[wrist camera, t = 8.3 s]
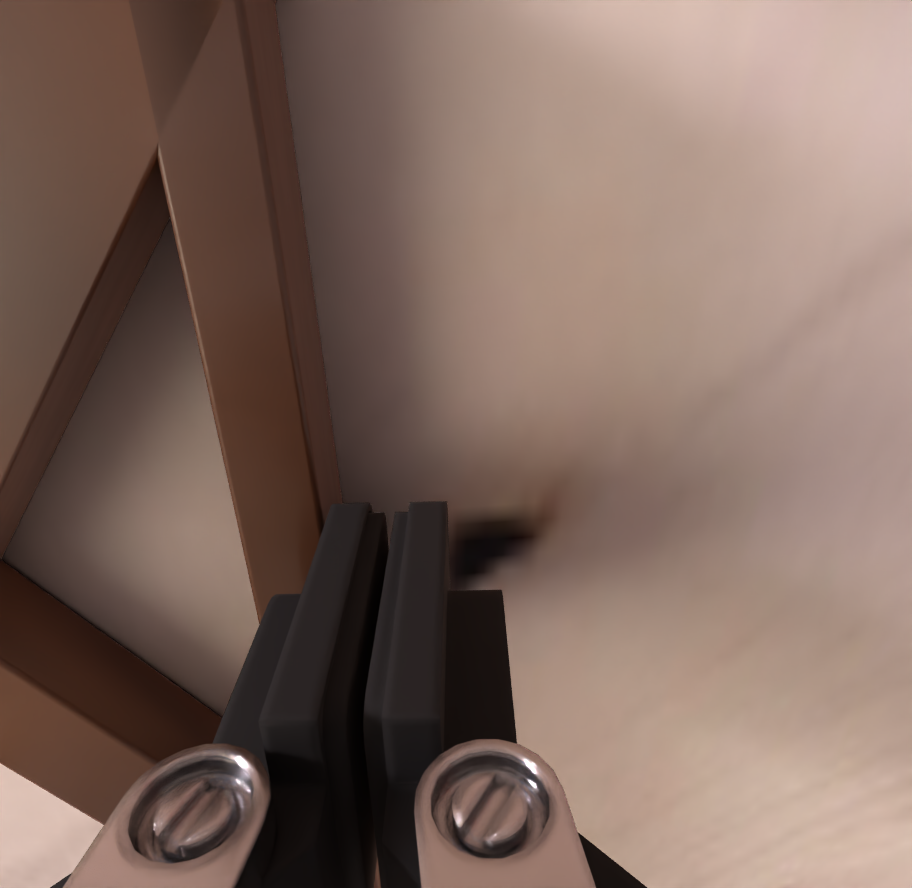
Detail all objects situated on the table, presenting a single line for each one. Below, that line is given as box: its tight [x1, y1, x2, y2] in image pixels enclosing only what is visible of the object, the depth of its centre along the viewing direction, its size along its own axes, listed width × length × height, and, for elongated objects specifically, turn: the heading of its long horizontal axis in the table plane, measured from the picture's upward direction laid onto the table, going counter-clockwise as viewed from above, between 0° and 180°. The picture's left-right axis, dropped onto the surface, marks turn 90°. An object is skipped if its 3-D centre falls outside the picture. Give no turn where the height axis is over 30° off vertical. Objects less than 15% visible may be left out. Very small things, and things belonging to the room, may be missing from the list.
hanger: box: [0, 0, 381, 888], centre depth 11 cm, size 11×19×2 cm, turn 2°
